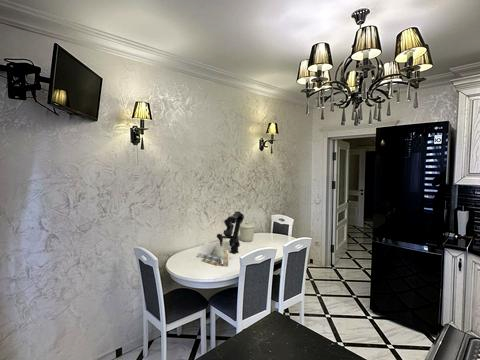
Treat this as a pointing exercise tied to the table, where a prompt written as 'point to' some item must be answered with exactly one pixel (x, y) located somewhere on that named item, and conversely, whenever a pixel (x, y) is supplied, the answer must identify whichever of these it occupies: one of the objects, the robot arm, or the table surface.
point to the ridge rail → (212, 260)
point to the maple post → (225, 258)
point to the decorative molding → (206, 249)
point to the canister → (247, 231)
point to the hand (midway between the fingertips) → (225, 246)
